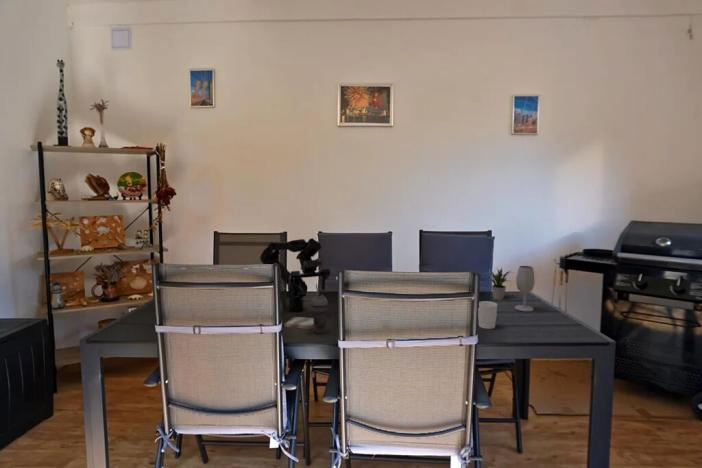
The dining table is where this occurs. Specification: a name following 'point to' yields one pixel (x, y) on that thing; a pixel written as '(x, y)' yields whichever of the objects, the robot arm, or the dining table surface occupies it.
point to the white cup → (487, 314)
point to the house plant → (499, 284)
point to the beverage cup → (319, 312)
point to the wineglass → (525, 285)
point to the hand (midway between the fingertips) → (314, 291)
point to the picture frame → (300, 323)
